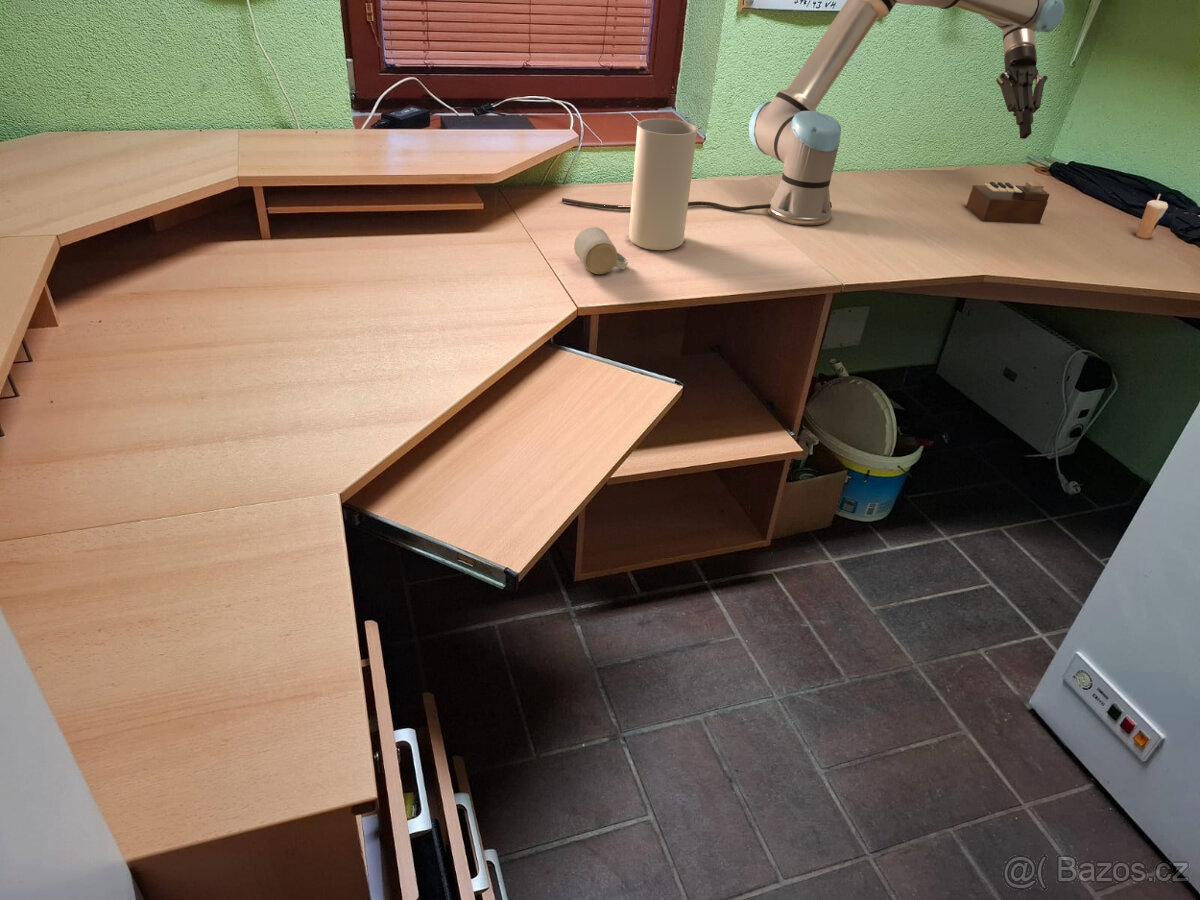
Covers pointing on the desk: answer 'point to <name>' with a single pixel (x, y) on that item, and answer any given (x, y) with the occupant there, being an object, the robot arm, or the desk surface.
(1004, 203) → the piano
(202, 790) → the desk surface
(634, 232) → the cylinder vase
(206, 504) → the desk surface
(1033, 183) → the key
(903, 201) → the desk surface
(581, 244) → the ceramic mug
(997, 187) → the keyboard
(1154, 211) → the milkshake
